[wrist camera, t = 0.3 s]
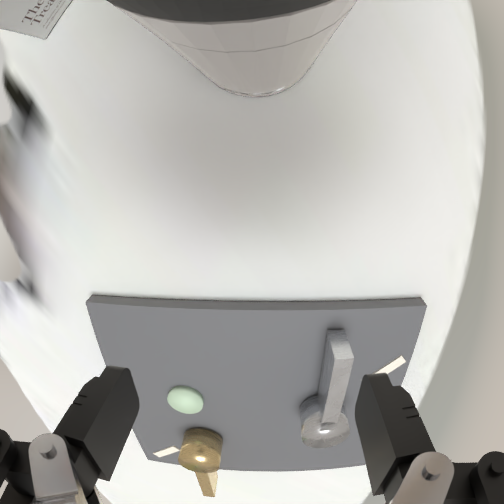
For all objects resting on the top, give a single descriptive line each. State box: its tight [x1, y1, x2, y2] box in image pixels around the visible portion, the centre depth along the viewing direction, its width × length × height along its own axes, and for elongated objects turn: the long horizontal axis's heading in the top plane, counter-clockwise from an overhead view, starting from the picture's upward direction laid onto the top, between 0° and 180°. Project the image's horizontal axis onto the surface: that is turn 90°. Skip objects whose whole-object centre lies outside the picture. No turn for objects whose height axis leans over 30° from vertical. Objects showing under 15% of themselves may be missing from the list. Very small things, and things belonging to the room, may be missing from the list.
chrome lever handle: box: [300, 330, 354, 448], centre depth 28 cm, size 14×5×4 cm, turn 1°
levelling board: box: [86, 295, 427, 471], centre depth 33 cm, size 29×33×2 cm
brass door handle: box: [178, 428, 223, 497], centre depth 34 cm, size 14×5×4 cm, turn 1°
